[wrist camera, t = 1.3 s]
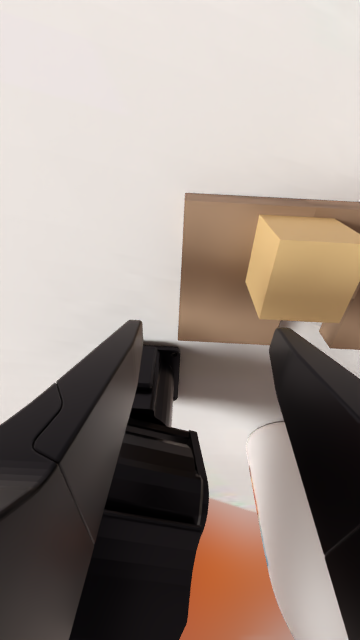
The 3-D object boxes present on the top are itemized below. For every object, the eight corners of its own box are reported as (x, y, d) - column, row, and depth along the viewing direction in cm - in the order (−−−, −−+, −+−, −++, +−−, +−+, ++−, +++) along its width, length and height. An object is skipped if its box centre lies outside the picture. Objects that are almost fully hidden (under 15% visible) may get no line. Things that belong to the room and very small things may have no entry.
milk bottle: (240, 424, 29) (307, 811, 12) (315, 414, 27) (502, 834, 11) (248, 460, 33) (307, 782, 17) (314, 453, 32) (448, 797, 15)
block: (309, 285, 17) (339, 323, 13) (245, 281, 17) (259, 318, 13) (334, 218, 14) (377, 244, 11) (259, 214, 14) (280, 239, 11)
